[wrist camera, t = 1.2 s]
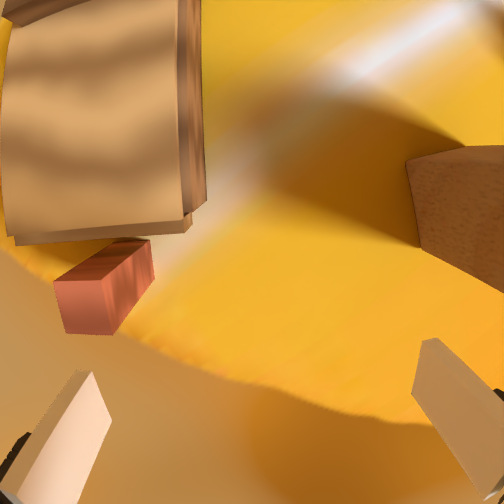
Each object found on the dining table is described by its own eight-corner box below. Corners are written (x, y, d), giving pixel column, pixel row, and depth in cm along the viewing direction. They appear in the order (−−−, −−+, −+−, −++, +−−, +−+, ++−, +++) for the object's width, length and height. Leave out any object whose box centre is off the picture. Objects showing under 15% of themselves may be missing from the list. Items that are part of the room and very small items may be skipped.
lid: (47, -9, 17) (9, -38, 10) (188, -48, 18) (175, -98, 10) (38, 236, 24) (-16, 259, 16) (192, 224, 24) (171, 247, 17)
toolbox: (66, 14, 23) (27, -16, 14) (201, -17, 23) (190, -66, 15) (62, 214, 29) (11, 230, 20) (207, 200, 29) (192, 212, 21)
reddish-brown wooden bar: (113, 242, 30) (52, 281, 18) (149, 240, 30) (100, 280, 19) (119, 279, 31) (66, 333, 19) (154, 278, 31) (112, 335, 20)
